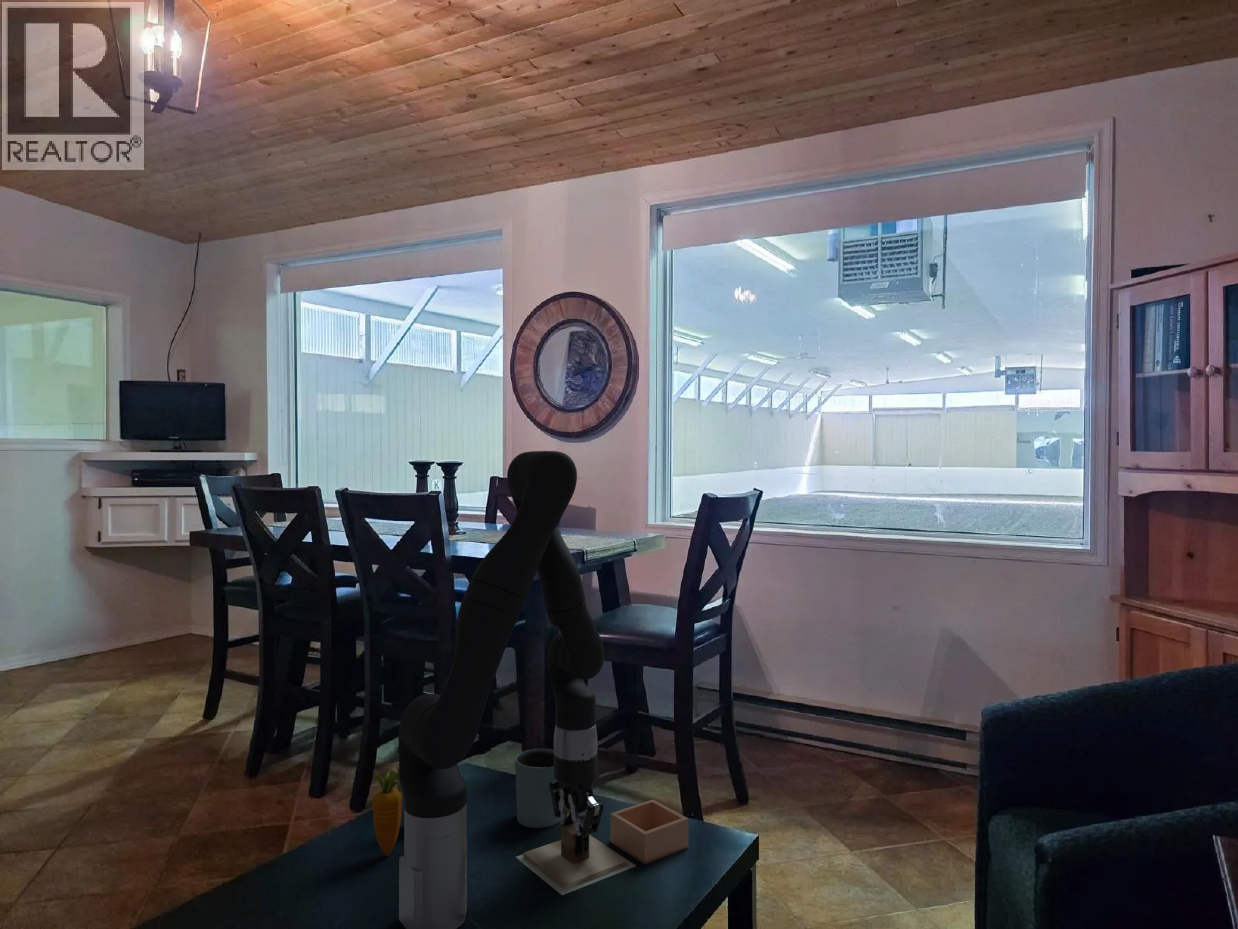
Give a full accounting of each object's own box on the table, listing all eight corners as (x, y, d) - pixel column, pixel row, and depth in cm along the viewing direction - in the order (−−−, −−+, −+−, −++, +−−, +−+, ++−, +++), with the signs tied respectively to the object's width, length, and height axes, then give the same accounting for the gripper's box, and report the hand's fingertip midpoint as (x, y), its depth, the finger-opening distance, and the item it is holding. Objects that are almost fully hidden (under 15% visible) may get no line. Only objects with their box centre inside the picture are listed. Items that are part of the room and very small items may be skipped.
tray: (562, 897, 122) (562, 895, 122) (515, 859, 134) (515, 857, 134) (636, 868, 131) (636, 866, 131) (586, 834, 143) (586, 832, 143)
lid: (563, 890, 123) (564, 854, 123) (523, 857, 134) (523, 824, 134) (628, 865, 131) (628, 831, 131) (584, 836, 141) (585, 804, 141)
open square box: (644, 866, 131) (645, 834, 131) (610, 844, 139) (610, 813, 139) (688, 849, 137) (688, 818, 137) (652, 828, 145) (652, 799, 145)
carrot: (366, 858, 134) (366, 772, 134) (387, 846, 138) (387, 763, 138) (387, 865, 131) (387, 778, 132) (407, 853, 136) (408, 768, 136)
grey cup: (508, 813, 152) (508, 752, 152) (556, 804, 156) (556, 745, 156) (524, 836, 142) (524, 771, 142) (574, 825, 147) (574, 762, 147)
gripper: (535, 743, 136) (535, 840, 136) (580, 768, 124) (580, 874, 124) (571, 734, 140) (570, 829, 140) (617, 757, 129) (617, 860, 129)
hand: (575, 849), depth 132 cm, fingers closed on lid, 3 cm apart
